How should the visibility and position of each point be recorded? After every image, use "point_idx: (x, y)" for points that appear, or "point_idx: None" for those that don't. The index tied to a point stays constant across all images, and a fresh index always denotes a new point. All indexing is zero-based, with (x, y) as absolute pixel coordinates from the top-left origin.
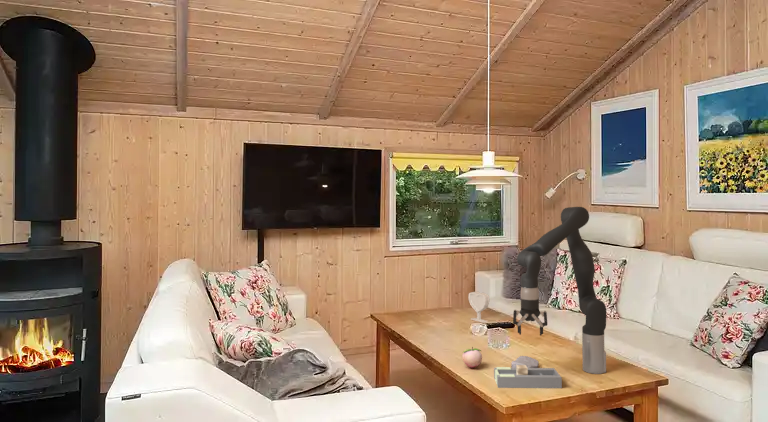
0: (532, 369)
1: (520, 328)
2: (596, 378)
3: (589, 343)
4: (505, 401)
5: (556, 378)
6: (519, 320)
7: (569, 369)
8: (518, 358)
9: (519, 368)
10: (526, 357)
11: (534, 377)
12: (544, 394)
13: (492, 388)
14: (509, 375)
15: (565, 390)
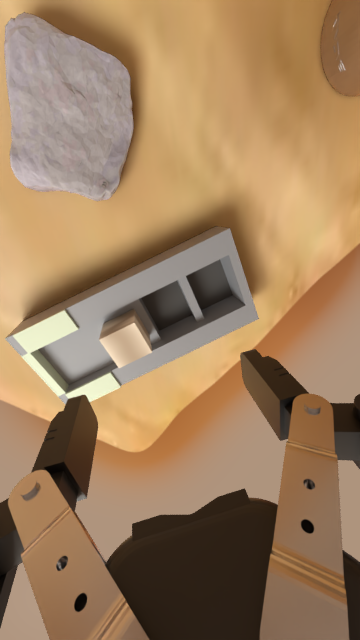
0: (153, 286)
1: (86, 474)
2: (352, 155)
3: None
4: (131, 443)
5: (242, 324)
6: (23, 540)
7: (265, 66)
8: (17, 91)
9: (123, 365)
10: (56, 62)
11: (178, 357)
12: (205, 367)
13: None
14: (101, 388)
15: None
